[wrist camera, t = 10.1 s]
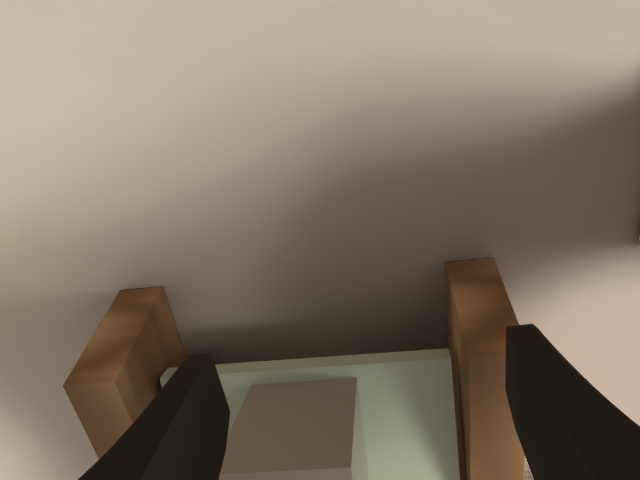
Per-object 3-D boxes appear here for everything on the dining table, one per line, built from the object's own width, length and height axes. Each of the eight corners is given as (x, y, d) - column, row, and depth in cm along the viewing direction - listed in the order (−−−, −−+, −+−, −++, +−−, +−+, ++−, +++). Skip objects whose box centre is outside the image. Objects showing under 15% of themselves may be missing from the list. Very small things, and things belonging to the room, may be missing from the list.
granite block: (356, 377, 23) (351, 467, 17) (368, 474, 24) (366, 590, 18) (250, 384, 24) (210, 475, 18) (265, 479, 25) (232, 593, 19)
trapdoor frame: (493, 257, 24) (530, 354, 19) (489, 497, 32) (515, 611, 27) (120, 290, 26) (62, 386, 21) (204, 508, 34) (177, 617, 29)
